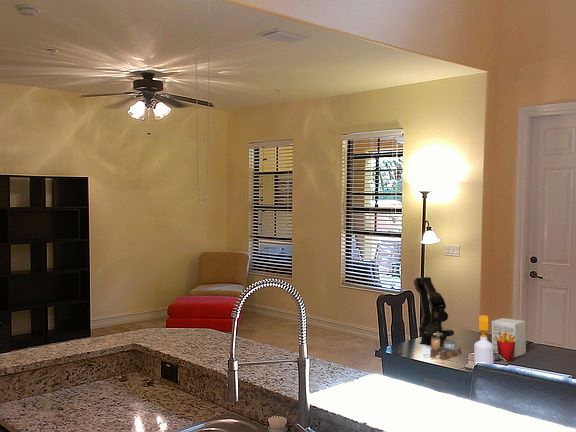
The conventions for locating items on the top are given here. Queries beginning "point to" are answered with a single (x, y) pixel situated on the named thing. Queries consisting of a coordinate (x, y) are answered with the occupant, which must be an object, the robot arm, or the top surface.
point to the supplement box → (510, 327)
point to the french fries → (506, 346)
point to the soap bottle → (483, 343)
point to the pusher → (445, 349)
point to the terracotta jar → (435, 342)
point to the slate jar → (449, 344)
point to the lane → (444, 355)
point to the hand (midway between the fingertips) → (436, 346)
